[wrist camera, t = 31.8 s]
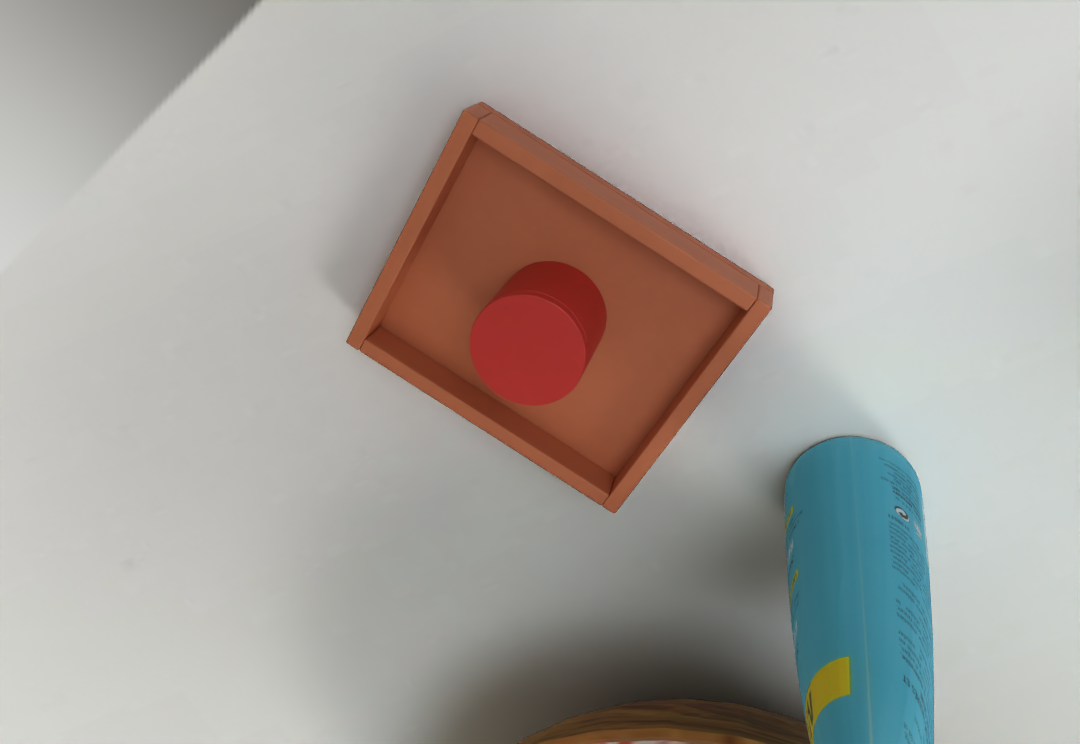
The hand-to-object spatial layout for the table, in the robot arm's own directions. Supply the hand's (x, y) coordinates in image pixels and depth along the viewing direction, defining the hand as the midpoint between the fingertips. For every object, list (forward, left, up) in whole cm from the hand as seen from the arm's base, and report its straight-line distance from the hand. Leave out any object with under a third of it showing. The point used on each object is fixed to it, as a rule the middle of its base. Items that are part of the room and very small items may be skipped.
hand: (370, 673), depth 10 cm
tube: (+12, -7, -26) cm, 29 cm away
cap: (-1, -7, -25) cm, 26 cm away
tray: (-1, -7, -26) cm, 27 cm away
